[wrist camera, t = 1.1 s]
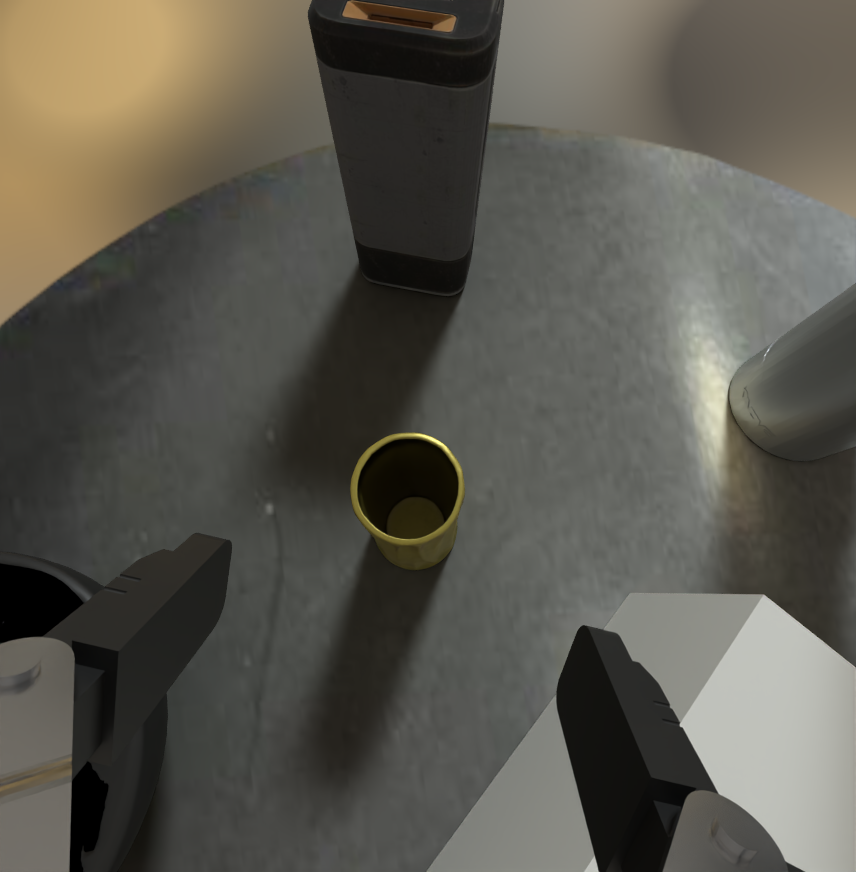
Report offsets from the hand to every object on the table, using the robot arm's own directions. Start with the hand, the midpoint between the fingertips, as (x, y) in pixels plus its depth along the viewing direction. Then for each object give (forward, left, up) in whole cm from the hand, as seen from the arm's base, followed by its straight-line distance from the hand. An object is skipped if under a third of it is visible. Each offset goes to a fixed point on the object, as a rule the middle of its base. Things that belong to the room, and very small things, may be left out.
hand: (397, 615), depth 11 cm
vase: (-1, -5, -24) cm, 25 cm away
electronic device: (-8, -27, -24) cm, 37 cm away
